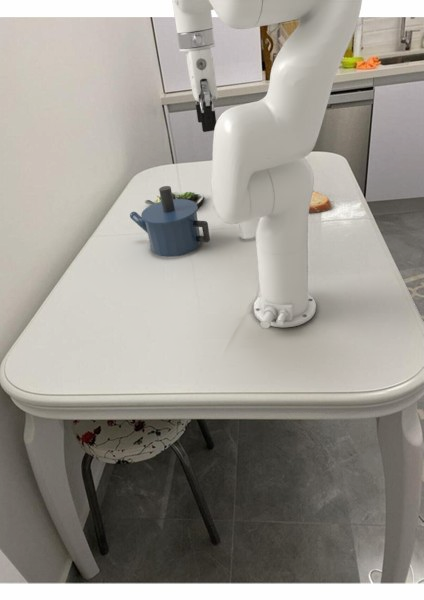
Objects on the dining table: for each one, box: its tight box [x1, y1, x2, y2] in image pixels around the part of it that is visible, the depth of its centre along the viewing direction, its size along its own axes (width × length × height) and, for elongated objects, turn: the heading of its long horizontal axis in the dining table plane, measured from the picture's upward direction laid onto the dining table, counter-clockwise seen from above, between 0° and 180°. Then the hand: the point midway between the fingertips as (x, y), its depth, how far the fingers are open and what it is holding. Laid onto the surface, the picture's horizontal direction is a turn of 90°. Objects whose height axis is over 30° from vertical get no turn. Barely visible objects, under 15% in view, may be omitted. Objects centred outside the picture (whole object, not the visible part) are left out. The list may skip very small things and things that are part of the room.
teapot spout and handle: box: [129, 211, 211, 243], centre depth 117 cm, size 2×23×8 cm, turn 67°
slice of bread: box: [309, 190, 333, 214], centre depth 132 cm, size 18×18×4 cm
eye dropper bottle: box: [238, 218, 260, 240], centre depth 115 cm, size 4×6×12 cm
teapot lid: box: [140, 185, 199, 225], centre depth 113 cm, size 15×15×7 cm
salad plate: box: [144, 191, 205, 209], centre depth 142 cm, size 19×18×5 cm
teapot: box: [145, 212, 202, 258], centre depth 117 cm, size 14×14×10 cm
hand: (207, 125), depth 101 cm, fingers open, 9 cm apart
